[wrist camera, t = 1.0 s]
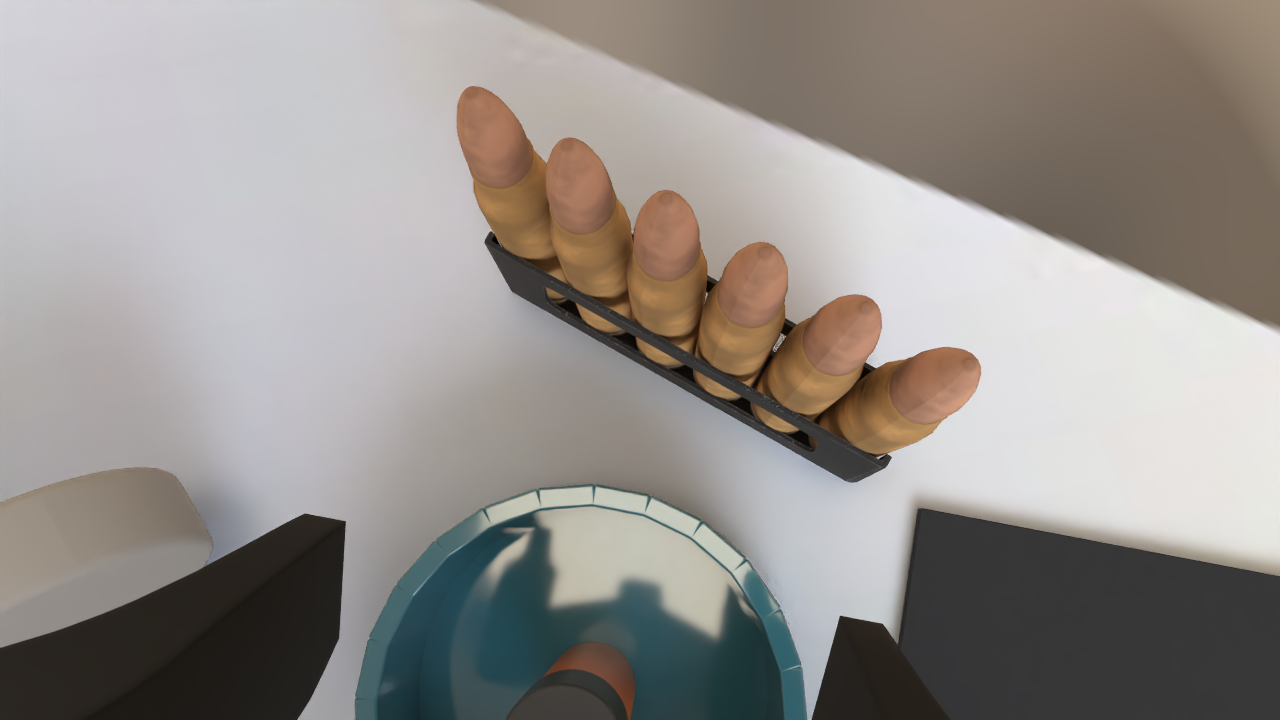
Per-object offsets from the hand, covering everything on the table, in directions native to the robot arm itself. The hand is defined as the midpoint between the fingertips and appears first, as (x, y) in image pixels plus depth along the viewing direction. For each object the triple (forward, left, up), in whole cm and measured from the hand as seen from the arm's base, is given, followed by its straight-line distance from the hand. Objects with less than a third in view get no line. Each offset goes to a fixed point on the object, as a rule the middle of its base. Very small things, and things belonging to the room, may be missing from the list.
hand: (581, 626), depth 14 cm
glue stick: (-3, 0, -12) cm, 12 cm away
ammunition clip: (+6, -1, -12) cm, 14 cm away
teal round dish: (-3, 0, -12) cm, 12 cm away
